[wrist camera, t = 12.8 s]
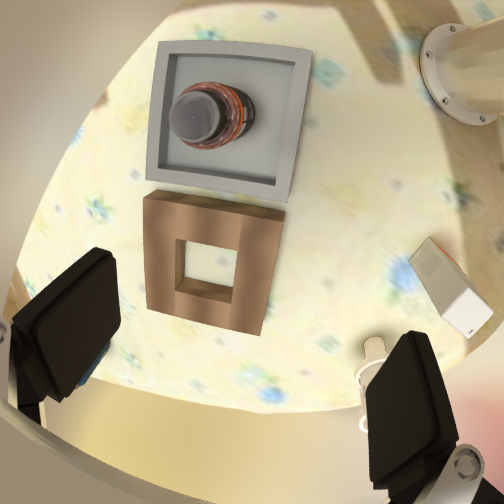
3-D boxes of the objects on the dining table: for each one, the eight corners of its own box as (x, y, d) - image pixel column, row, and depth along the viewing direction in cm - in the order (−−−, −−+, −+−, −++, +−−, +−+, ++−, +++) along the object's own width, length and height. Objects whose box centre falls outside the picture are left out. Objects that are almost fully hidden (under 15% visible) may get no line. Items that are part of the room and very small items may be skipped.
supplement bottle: (192, 106, 30) (142, 106, 20) (238, 77, 28) (205, 61, 18) (220, 150, 32) (181, 169, 22) (266, 123, 30) (248, 128, 20)
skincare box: (454, 259, 33) (495, 313, 22) (434, 283, 35) (468, 341, 24) (427, 234, 32) (469, 286, 22) (406, 260, 34) (439, 318, 24)
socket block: (285, 211, 34) (283, 222, 31) (263, 319, 42) (260, 336, 38) (156, 189, 36) (143, 197, 32) (156, 295, 43) (147, 308, 40)
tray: (311, 56, 26) (312, 50, 23) (288, 195, 33) (286, 202, 31) (169, 46, 27) (158, 41, 25) (156, 174, 35) (145, 179, 32)
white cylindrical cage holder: (374, 318, 39) (394, 404, 25) (404, 339, 40) (428, 419, 26) (341, 348, 42) (347, 433, 29) (372, 365, 43) (383, 445, 29)
